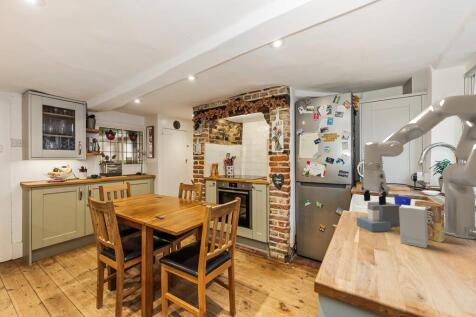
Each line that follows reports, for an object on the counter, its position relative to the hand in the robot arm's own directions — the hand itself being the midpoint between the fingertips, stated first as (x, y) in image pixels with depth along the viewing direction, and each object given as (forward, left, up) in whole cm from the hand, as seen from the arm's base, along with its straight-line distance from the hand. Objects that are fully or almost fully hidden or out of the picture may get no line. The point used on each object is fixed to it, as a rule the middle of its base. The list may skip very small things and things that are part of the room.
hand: (374, 202), depth 107 cm
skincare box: (-20, 0, -13) cm, 23 cm away
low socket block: (0, +1, -12) cm, 12 cm away
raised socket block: (+7, -11, -12) cm, 18 cm away
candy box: (-16, -12, -13) cm, 24 cm away
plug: (0, +1, -11) cm, 11 cm away
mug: (+20, -36, -13) cm, 44 cm away
